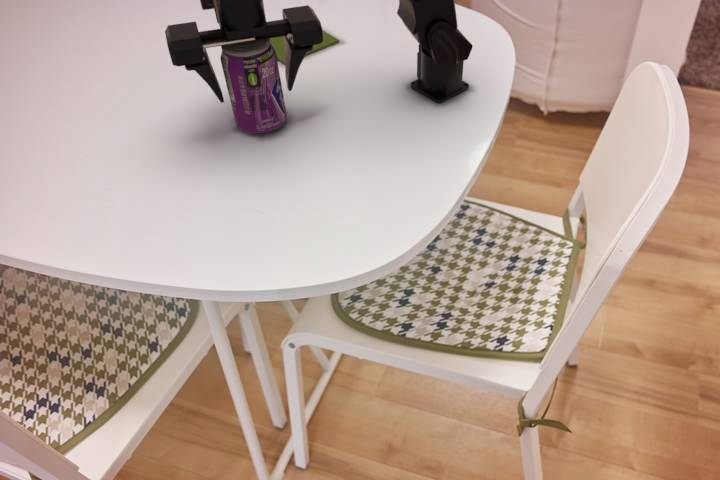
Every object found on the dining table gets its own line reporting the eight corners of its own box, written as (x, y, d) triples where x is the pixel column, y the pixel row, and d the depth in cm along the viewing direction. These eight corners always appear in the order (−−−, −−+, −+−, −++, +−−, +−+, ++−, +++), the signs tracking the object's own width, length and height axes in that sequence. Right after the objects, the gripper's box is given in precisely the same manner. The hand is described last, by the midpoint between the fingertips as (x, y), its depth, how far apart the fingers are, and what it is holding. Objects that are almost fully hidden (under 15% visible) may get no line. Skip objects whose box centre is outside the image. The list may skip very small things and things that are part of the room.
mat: (339, 42, 102) (339, 39, 102) (284, 64, 97) (284, 62, 97) (301, 20, 108) (301, 17, 107) (247, 40, 103) (247, 37, 102)
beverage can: (277, 140, 83) (262, 58, 74) (228, 134, 84) (207, 53, 75) (294, 111, 88) (281, 31, 79) (247, 106, 89) (230, 26, 80)
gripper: (297, -57, 79) (309, 56, 90) (146, -39, 74) (180, 77, 86) (318, -24, 72) (329, 94, 83) (153, -2, 67) (188, 119, 79)
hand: (256, 95), depth 83 cm, fingers open, 9 cm apart
